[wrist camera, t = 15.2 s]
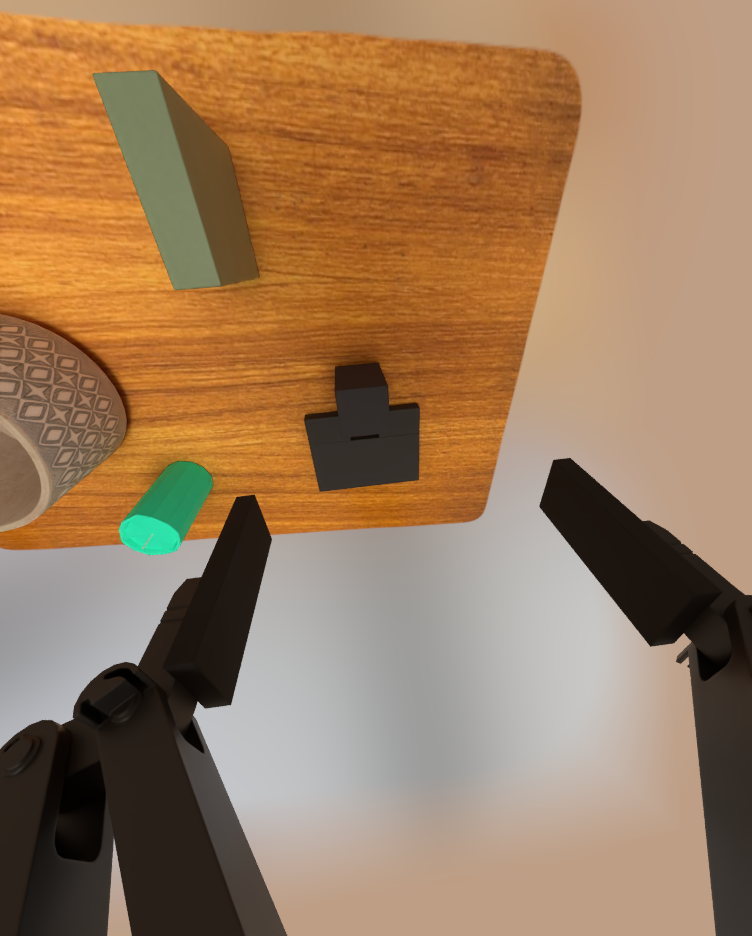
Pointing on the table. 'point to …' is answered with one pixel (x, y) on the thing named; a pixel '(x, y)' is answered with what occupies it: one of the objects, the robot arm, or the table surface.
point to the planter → (49, 419)
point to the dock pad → (365, 451)
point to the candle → (167, 509)
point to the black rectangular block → (362, 400)
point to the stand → (180, 181)
